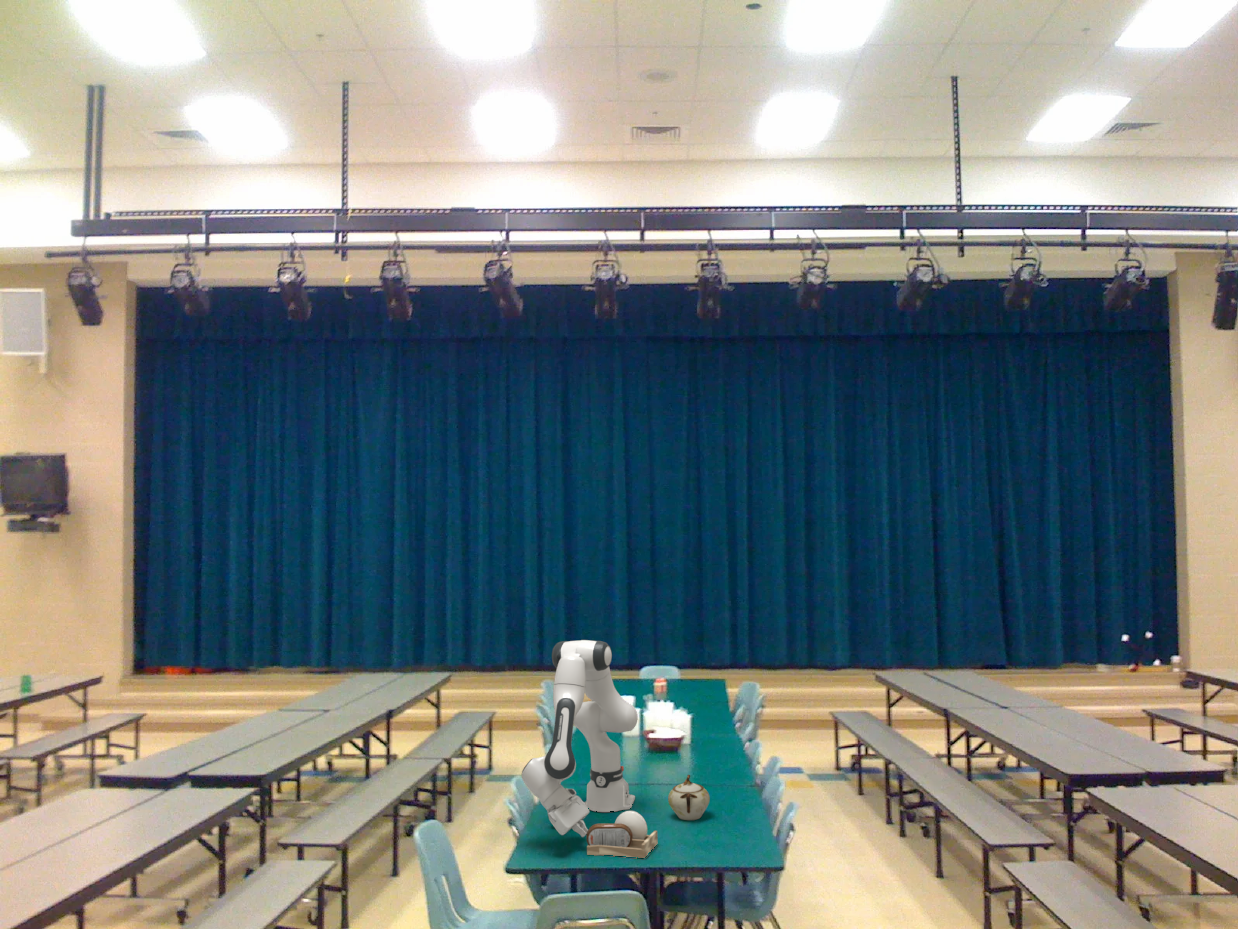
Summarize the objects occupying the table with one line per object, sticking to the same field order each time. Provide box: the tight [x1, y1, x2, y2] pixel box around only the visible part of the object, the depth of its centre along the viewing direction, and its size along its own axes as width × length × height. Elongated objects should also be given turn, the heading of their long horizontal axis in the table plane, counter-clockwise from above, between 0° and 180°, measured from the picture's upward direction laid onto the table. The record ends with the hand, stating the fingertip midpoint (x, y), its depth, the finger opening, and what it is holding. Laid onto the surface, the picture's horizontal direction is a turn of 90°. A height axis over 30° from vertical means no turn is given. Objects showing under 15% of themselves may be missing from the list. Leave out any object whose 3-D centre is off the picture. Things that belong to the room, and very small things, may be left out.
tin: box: [585, 823, 633, 847], centre depth 310 cm, size 15×3×8 cm, turn 89°
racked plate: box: [614, 810, 648, 840], centre depth 314 cm, size 2×11×11 cm, turn 71°
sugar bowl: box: [667, 774, 711, 821], centre depth 343 cm, size 20×15×15 cm
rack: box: [586, 830, 659, 859], centre depth 310 cm, size 16×19×4 cm
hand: (586, 834), depth 312 cm, fingers closed
